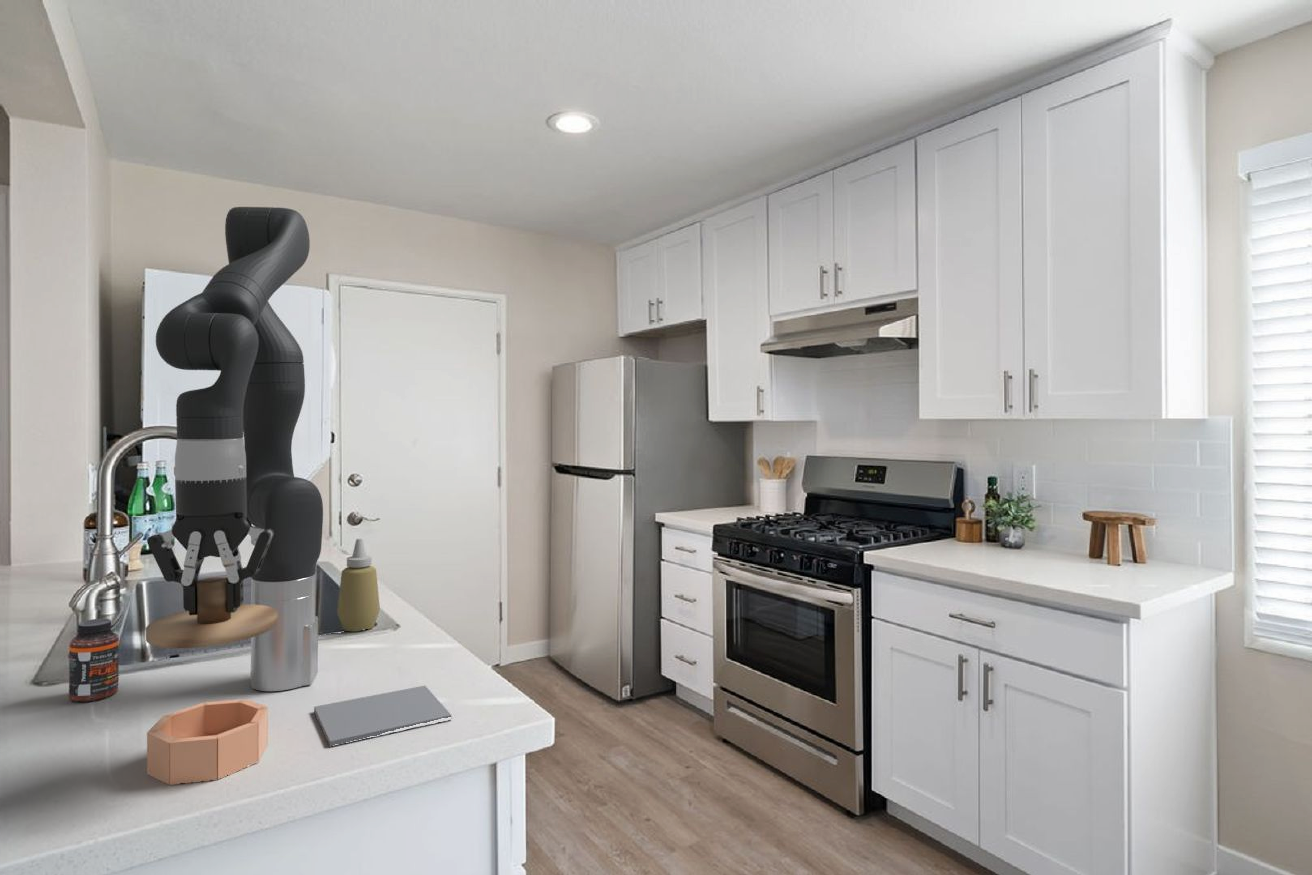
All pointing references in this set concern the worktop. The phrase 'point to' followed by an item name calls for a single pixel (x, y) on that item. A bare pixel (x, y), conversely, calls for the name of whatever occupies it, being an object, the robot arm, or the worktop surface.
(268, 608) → the lid
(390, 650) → the worktop surface
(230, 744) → the bowl
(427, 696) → the mat
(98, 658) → the supplement bottle
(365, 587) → the squeeze bottle
